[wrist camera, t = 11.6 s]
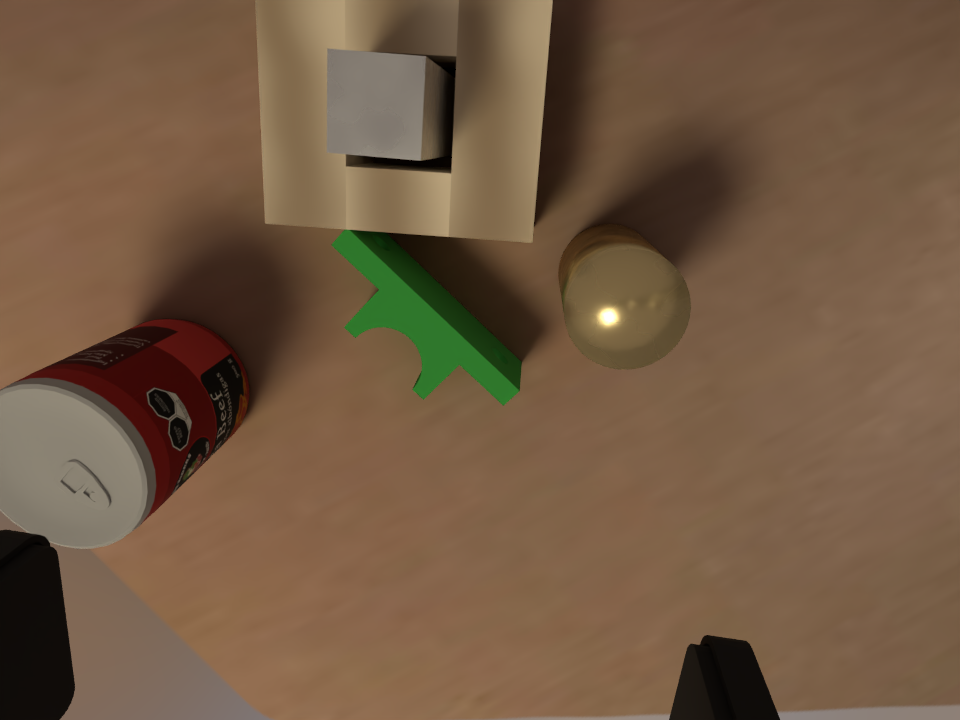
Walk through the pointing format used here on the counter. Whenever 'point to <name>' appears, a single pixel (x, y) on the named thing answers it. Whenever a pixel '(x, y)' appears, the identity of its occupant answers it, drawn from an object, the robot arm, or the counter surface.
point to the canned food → (116, 430)
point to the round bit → (621, 298)
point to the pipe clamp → (426, 317)
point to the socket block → (476, 130)
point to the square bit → (388, 105)
